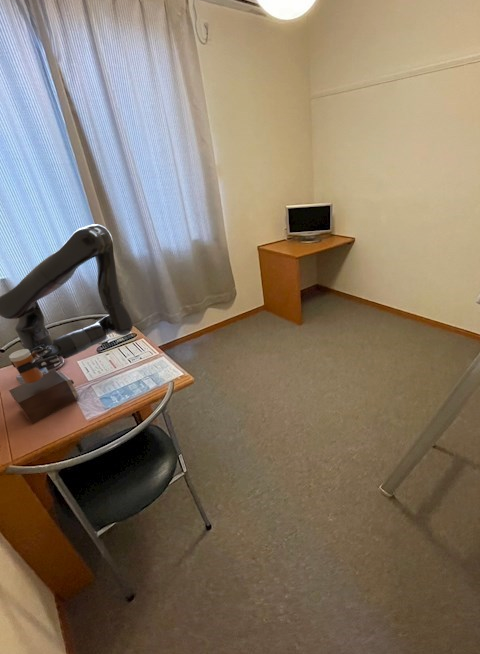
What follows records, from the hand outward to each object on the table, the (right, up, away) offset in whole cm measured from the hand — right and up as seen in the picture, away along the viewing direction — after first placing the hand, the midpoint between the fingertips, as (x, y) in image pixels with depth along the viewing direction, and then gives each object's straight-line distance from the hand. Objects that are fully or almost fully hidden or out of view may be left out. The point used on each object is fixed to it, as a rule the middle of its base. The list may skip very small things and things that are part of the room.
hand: (15, 367), depth 104 cm
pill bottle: (+2, -4, +5) cm, 7 cm away
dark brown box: (+3, -14, +11) cm, 18 cm away
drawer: (+4, -12, +12) cm, 18 cm away
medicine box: (-7, -10, +19) cm, 23 cm away
